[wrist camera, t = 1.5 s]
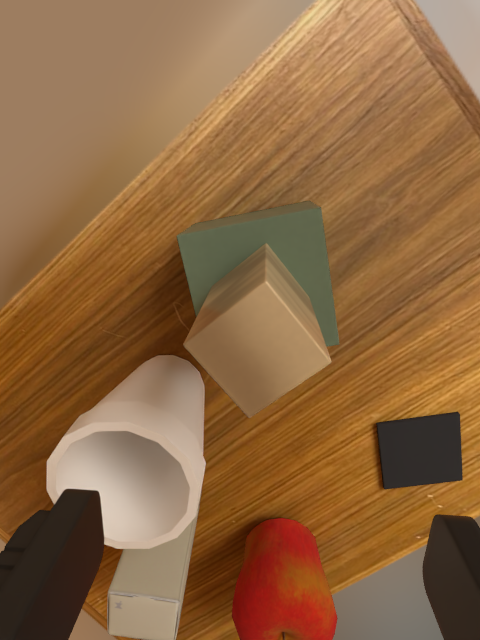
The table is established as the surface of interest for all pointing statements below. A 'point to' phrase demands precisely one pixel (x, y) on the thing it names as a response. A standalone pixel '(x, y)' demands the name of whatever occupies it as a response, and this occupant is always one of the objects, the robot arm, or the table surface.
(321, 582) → the apple
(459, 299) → the table surface
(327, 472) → the table surface
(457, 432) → the mat
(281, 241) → the stand
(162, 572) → the box
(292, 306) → the block
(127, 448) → the foam cup
